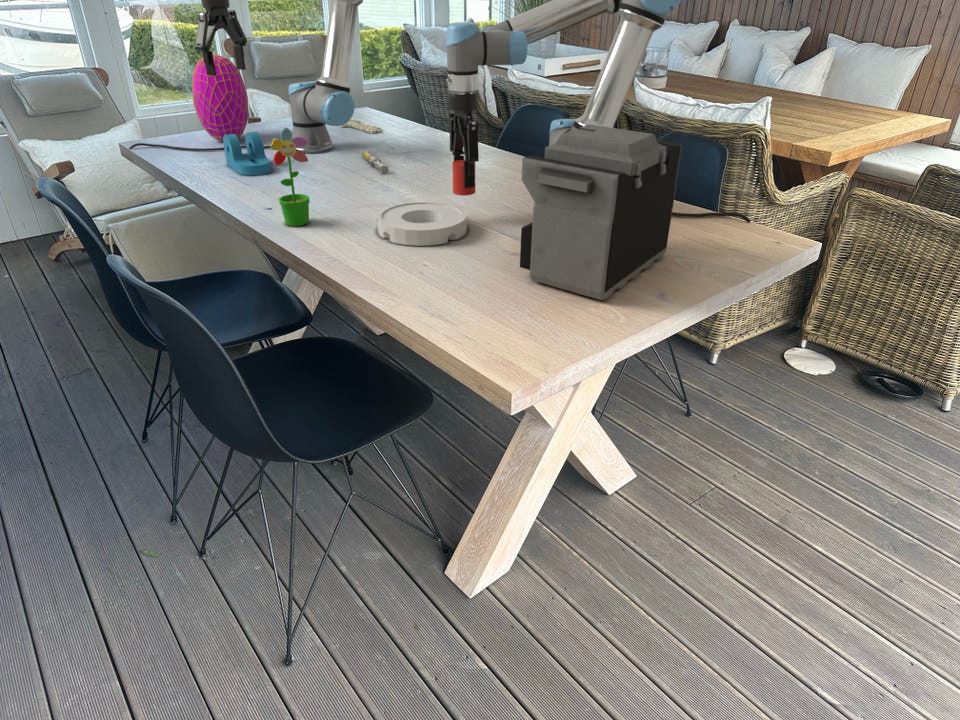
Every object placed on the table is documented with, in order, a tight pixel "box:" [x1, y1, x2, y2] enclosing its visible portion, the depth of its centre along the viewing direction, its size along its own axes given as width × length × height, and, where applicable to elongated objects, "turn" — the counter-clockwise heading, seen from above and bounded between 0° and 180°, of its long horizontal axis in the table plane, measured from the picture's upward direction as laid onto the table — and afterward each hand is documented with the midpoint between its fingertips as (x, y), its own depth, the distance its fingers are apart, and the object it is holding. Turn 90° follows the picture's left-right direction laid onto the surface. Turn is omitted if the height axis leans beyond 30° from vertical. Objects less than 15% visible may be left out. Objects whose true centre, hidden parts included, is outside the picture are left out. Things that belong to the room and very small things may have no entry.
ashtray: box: [376, 200, 468, 247], centre depth 179 cm, size 23×23×4 cm
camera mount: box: [222, 131, 272, 176], centre depth 226 cm, size 18×10×10 cm, turn 35°
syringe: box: [361, 149, 390, 175], centre depth 234 cm, size 25×4×3 cm, turn 21°
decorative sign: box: [341, 118, 382, 134], centre depth 285 cm, size 26×1×10 cm
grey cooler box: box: [519, 124, 683, 301], centre depth 152 cm, size 37×22×30 cm, turn 144°
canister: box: [451, 159, 476, 197], centre depth 182 cm, size 6×6×8 cm
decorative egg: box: [191, 54, 249, 142], centre depth 255 cm, size 19×19×30 cm
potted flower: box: [270, 127, 310, 227], centre depth 177 cm, size 9×8×25 cm
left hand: (226, 72), depth 207 cm, fingers open, 13 cm apart
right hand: (464, 183), depth 182 cm, fingers closed on canister, 6 cm apart
